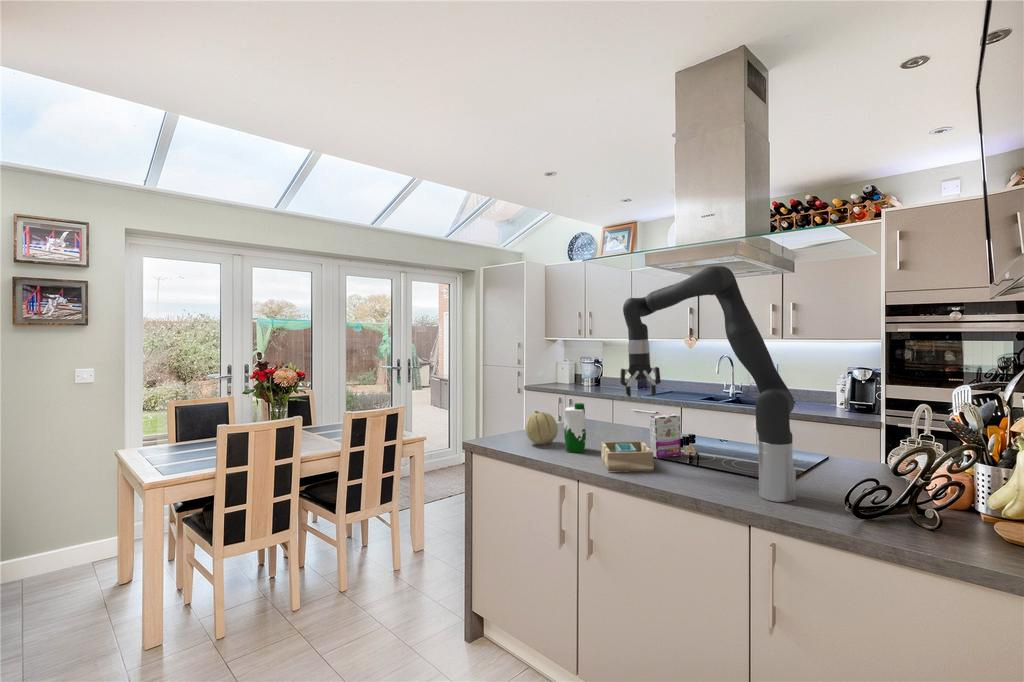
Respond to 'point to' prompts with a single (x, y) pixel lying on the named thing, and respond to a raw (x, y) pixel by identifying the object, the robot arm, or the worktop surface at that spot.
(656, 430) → the candy bar box
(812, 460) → the worktop surface
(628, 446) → the teal crate
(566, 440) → the milk carton
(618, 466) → the pine crate
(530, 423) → the cantaloupe
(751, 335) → the robot arm
